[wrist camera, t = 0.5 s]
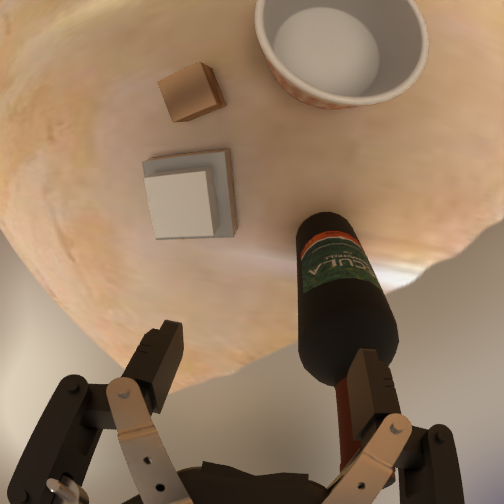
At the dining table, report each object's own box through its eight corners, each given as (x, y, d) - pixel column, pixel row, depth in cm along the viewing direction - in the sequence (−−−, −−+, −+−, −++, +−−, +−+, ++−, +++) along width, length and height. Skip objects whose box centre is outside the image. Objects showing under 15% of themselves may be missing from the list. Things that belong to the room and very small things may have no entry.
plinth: (152, 157, 35) (129, 166, 30) (229, 148, 33) (218, 155, 28) (164, 231, 39) (146, 250, 34) (237, 227, 38) (228, 248, 32)
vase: (406, 67, 26) (458, 50, 15) (324, 132, 31) (344, 141, 20) (325, -14, 23) (340, -66, 12) (241, 50, 28) (215, 17, 17)
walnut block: (174, 85, 31) (157, 82, 26) (212, 68, 29) (200, 61, 25) (188, 121, 33) (172, 122, 28) (226, 105, 31) (216, 104, 27)
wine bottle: (285, 253, 38) (268, 499, 12) (312, 201, 35) (356, 449, 8) (336, 275, 39) (375, 505, 12) (364, 227, 36) (468, 453, 9)
